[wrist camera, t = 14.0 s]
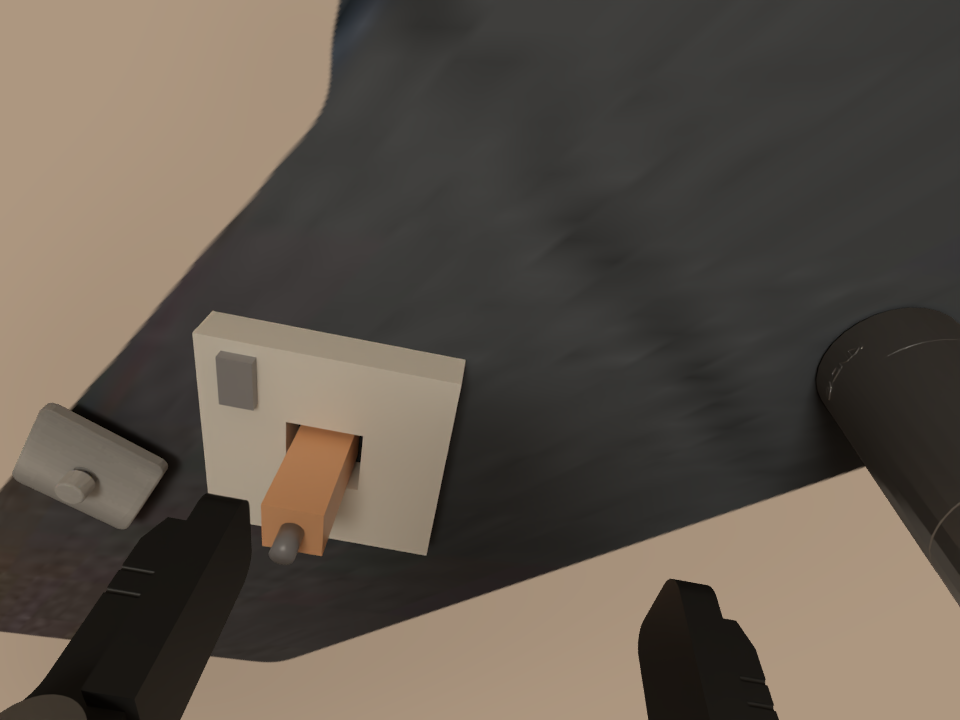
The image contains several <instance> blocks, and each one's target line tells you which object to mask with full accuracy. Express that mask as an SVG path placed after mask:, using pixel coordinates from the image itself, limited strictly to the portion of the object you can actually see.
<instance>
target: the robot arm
mask: <svg viewBox="0 0 960 720" xmlns="http://www.w3.org/2000/svg"><path fill="white" fill-rule="evenodd" d="M816 381H817V390H818V393H819V395H820V398H821V400H822V401H823V403H824V404H825V406H826V407H827V409H828V410H829V412H830V413H831V415H832V416H833V418H834V419H835V421H836V422H837V424H838V425H839V427H840V428H841V430H842V431H843V433H844V435H845V436H846V438H847V439H848V441H849V442H850V444H851V445H852V447H853V448H854V450H855V451H856V453H857V454H858V456H859V457H860V459H861V460H862V462H863V463H864V465H865V466H866V468H867V469H868V471H869V472H870V474H871V475H872V477H873V478H874V480H875V481H876V483H877V484H878V486H879V487H880V489H881V490H882V491H883V493H884V495H885V496H886V498H887V499H888V501H889V502H890V504H891V505H892V506H893V508H894V509H895V511H896V512H897V514H898V515H899V517H900V519H901V520H902V521H903V523H904V524H905V526H906V527H907V529H908V530H909V532H910V533H911V535H912V536H913V538H914V539H915V541H916V542H917V544H918V545H919V547H920V548H921V550H922V551H923V553H924V554H925V556H926V557H927V559H928V560H929V562H930V563H931V565H932V566H933V568H934V569H935V571H936V572H937V573H938V575H939V576H940V578H941V579H942V581H943V582H944V584H945V585H946V587H947V588H948V590H949V591H950V593H951V594H952V596H953V597H954V599H955V600H956V602H957V603H958V605H959V606H960V324H959V323H957V322H956V321H955V320H954V319H953V318H952V317H950V316H948V315H946V314H944V313H942V312H940V311H936V310H932V309H927V308H902V309H895V310H890V311H886V312H883V313H880V314H877V315H874V316H872V317H870V318H868V319H866V320H864V321H861V322H859V323H858V324H856V325H855V326H853V327H852V328H850V329H849V330H847V331H846V332H844V333H843V334H842V335H841V336H840V337H839V338H838V339H837V340H836V341H835V342H834V343H833V344H832V345H831V347H830V348H829V349H828V351H827V352H826V353H825V355H824V357H823V359H822V361H821V363H820V365H819V368H818V373H817V378H816ZM251 553H252V549H251V527H250V506H249V502H248V501H247V500H243V499H238V498H232V497H227V496H221V495H215V494H210V493H206V494H205V495H203V496H202V497H201V499H200V500H199V501H198V503H197V504H196V506H195V508H194V509H193V511H192V512H191V514H190V516H189V517H188V519H187V520H181V519H175V518H169V517H168V518H166V519H165V520H164V521H163V522H161V523H160V524H159V525H157V526H156V527H155V528H153V529H152V530H151V531H149V532H148V533H147V534H146V535H144V536H143V537H142V538H141V539H140V540H139V542H138V543H137V544H136V546H135V547H134V549H133V550H132V552H131V553H130V555H129V556H128V558H127V559H126V561H125V562H124V563H123V567H122V569H121V570H119V571H118V572H117V574H116V575H115V577H114V578H113V580H112V581H111V582H110V584H109V585H108V588H107V591H106V592H105V593H103V594H102V596H101V597H100V598H99V600H98V601H97V603H96V604H95V606H94V607H93V609H92V610H91V612H90V613H89V615H88V616H87V617H86V619H85V620H84V622H83V623H82V625H81V626H80V628H79V629H78V631H77V632H76V634H75V635H74V636H73V638H72V639H71V641H70V643H69V644H68V645H67V647H66V648H65V650H64V651H63V653H62V654H61V656H60V657H59V658H58V660H57V661H56V663H55V664H54V666H53V667H52V669H51V670H50V672H49V673H48V674H47V676H46V677H45V679H44V680H43V681H42V682H41V684H40V685H39V686H38V687H37V688H36V689H35V690H34V691H33V692H32V693H31V694H30V695H29V696H28V697H27V698H25V699H24V700H23V701H21V702H19V703H16V704H14V705H12V706H11V707H9V708H7V709H6V710H4V711H2V712H1V713H0V720H180V719H181V717H182V715H183V713H184V710H185V709H186V706H187V704H188V702H189V700H190V698H191V696H192V693H193V691H194V689H195V687H196V685H197V683H198V681H199V678H200V676H201V674H202V672H203V670H204V668H205V665H206V664H207V661H208V659H209V657H210V655H211V653H212V651H213V649H214V646H215V644H216V642H217V640H218V638H219V636H220V634H221V631H222V629H223V627H224V625H225V623H226V621H227V619H228V616H229V614H230V612H231V610H232V608H233V606H234V604H235V601H236V599H237V597H238V595H239V593H240V591H241V589H242V586H243V584H244V582H245V579H246V576H247V573H248V570H249V566H250V561H251ZM638 655H639V662H640V668H641V675H642V681H643V688H644V694H645V701H646V707H647V714H648V720H779V719H778V716H777V713H776V711H774V710H773V705H774V704H773V701H772V698H771V695H770V692H769V689H768V686H766V685H765V676H764V673H763V670H762V667H761V664H760V661H759V658H758V655H757V652H756V649H755V648H754V646H753V645H752V643H751V642H750V640H749V639H748V637H747V636H746V634H745V633H744V632H743V630H742V629H741V627H740V626H739V624H738V623H737V622H736V621H734V620H729V619H723V617H722V614H721V611H720V607H719V604H718V600H717V597H716V594H715V592H714V591H713V589H712V588H711V587H710V586H708V585H703V584H697V583H691V582H686V581H681V580H675V579H669V580H667V581H666V583H665V584H664V586H663V588H662V590H661V591H660V593H659V595H658V596H657V598H656V600H655V601H654V603H653V605H652V607H651V608H650V610H649V612H648V614H647V615H646V617H645V619H644V621H643V623H642V625H641V628H640V634H639V640H638Z"/></svg>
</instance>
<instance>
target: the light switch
mask: <svg viewBox="0 0 960 720" xmlns="http://www.w3.org/2000/svg"><path fill="white" fill-rule="evenodd" d="M167 469H168V464H167V463H166V461H165V460H164V459H162V458H160V457H159V456H157V455H155V454H153V453H151V452H149V451H147V450H145V449H143V448H141V447H139V446H137V445H136V444H134V443H132V442H130V441H128V440H126V439H124V438H122V437H120V436H118V435H116V434H114V433H112V432H111V431H109V430H107V429H105V428H103V427H101V426H99V425H97V424H95V423H93V422H91V421H89V420H88V419H86V418H84V417H82V416H80V415H78V414H76V413H74V412H72V411H70V410H68V409H66V408H64V407H62V406H61V405H59V404H55V403H49V404H47V405H46V406H45V407H43V409H41V410H40V412H39V414H38V416H37V419H36V421H35V423H34V425H33V427H32V429H31V432H30V434H29V436H28V438H27V441H26V443H25V445H24V447H23V450H22V452H21V454H20V456H19V459H18V461H17V463H16V465H15V468H14V470H13V473H12V474H13V477H14V478H15V479H16V480H17V481H18V482H20V483H22V484H24V485H26V486H28V487H31V488H33V489H35V490H37V491H39V492H41V493H43V494H45V495H48V496H50V497H52V498H54V499H56V500H58V501H60V502H62V503H65V504H67V505H69V506H71V507H73V508H75V509H77V510H79V511H82V512H84V513H86V514H88V515H90V516H92V517H94V518H96V519H99V520H101V521H103V522H105V523H107V524H109V525H111V526H113V527H116V528H118V529H126V528H128V527H129V526H130V524H131V523H132V522H133V520H134V519H135V517H136V516H137V514H138V513H139V511H140V510H141V508H142V507H143V505H144V504H145V502H146V501H147V499H148V498H149V496H150V495H151V493H152V492H153V490H154V489H155V487H156V486H157V484H158V483H159V481H160V479H161V478H162V476H163V475H164V473H165V472H166V470H167Z"/></svg>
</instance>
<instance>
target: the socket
mask: <svg viewBox="0 0 960 720" xmlns="http://www.w3.org/2000/svg"><path fill="white" fill-rule="evenodd" d="M192 334H193V344H194V354H195V364H196V374H197V385H198V395H199V405H200V415H201V425H202V435H203V445H204V455H205V465H206V475H207V486H208V493H210V494H215V495H221V496H227V497H232V498H238V499H243V500H247V501H248V502H249V506H250V524H253V525H259V526H262V524H261V503H262V501H263V499H264V497H265V495H266V493H267V491H268V489H269V487H270V485H271V483H272V481H273V479H274V477H275V475H276V473H277V471H278V469H279V467H280V465H281V463H282V461H283V459H284V457H285V455H286V453H287V451H288V450H289V448H290V446H291V444H292V442H293V440H294V438H295V436H296V434H297V432H298V430H299V424H300V425H305V426H310V427H316V428H321V429H326V430H332V431H337V432H342V433H348V434H353V435H358V436H363V443H362V453H361V462H355V464H354V467H353V470H352V473H351V475H350V478H349V481H348V484H347V487H346V490H345V492H344V495H343V498H342V501H341V504H340V506H339V509H338V512H337V515H336V518H335V521H334V523H333V526H332V529H331V532H330V535H329V537H328V538H331V539H336V540H342V541H348V542H353V543H359V544H364V545H370V546H375V547H381V548H386V549H392V550H398V551H403V552H409V553H414V554H420V555H425V556H426V555H427V550H428V545H429V540H430V535H431V530H432V525H433V521H434V516H435V511H436V506H437V501H438V496H439V492H440V487H441V482H442V477H443V472H444V467H445V463H446V458H447V453H448V448H449V443H450V438H451V433H452V429H453V424H454V419H455V414H456V409H457V404H458V400H459V395H460V390H461V385H462V379H463V373H464V367H465V361H466V360H464V359H458V358H453V357H448V356H443V355H438V354H433V353H427V352H422V351H417V350H412V349H407V348H402V347H396V346H391V345H386V344H381V343H376V342H371V341H365V340H360V339H355V338H350V337H345V336H340V335H334V334H329V333H324V332H319V331H314V330H309V329H303V328H298V327H293V326H288V325H283V324H278V323H272V322H267V321H262V320H257V319H252V318H247V317H241V316H236V315H231V314H226V313H221V312H216V311H212V312H211V313H210V314H209V315H208V316H207V318H206V319H205V320H204V321H203V322H202V323H201V324H200V325H199V326H198V327H197V328H196V329H195V330H194V332H193V333H192Z"/></svg>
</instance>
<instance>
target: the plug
mask: <svg viewBox="0 0 960 720" xmlns="http://www.w3.org/2000/svg"><path fill="white" fill-rule="evenodd" d="M359 437H360V436H358V435H353V434H348V433H342V432H337V431H332V430H326V429H321V428H316V427H310V426H305V425H301V426H300V428H299V430H298V432H297V434H296V436H295V438H294V440H293V442H292V444H291V446H290V448H289V450H288V451H287V453H286V455H285V457H284V459H283V461H282V463H281V465H280V467H279V469H278V471H277V473H276V475H275V477H274V479H273V481H272V483H271V485H270V487H269V489H268V491H267V493H266V495H265V497H264V499H263V501H262V503H261V524H262V546H267V547H271V549H270V551H269V557H270V559H271V560H272V561H274V562H275V563H278V564H281V565H288V564H291V563H293V561H294V559H295V557H296V554H297V552H301V553H307V554H313V555H318V556H322V554H323V552H324V549H325V546H326V543H327V540H328V537H329V535H330V532H331V529H332V526H333V523H334V521H335V518H336V515H337V512H338V509H339V506H340V504H341V501H342V498H343V495H344V492H345V490H346V487H347V484H348V481H349V478H350V475H351V473H352V470H353V467H354V464H355V461H356V459H357V456H358V448H359Z"/></svg>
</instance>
